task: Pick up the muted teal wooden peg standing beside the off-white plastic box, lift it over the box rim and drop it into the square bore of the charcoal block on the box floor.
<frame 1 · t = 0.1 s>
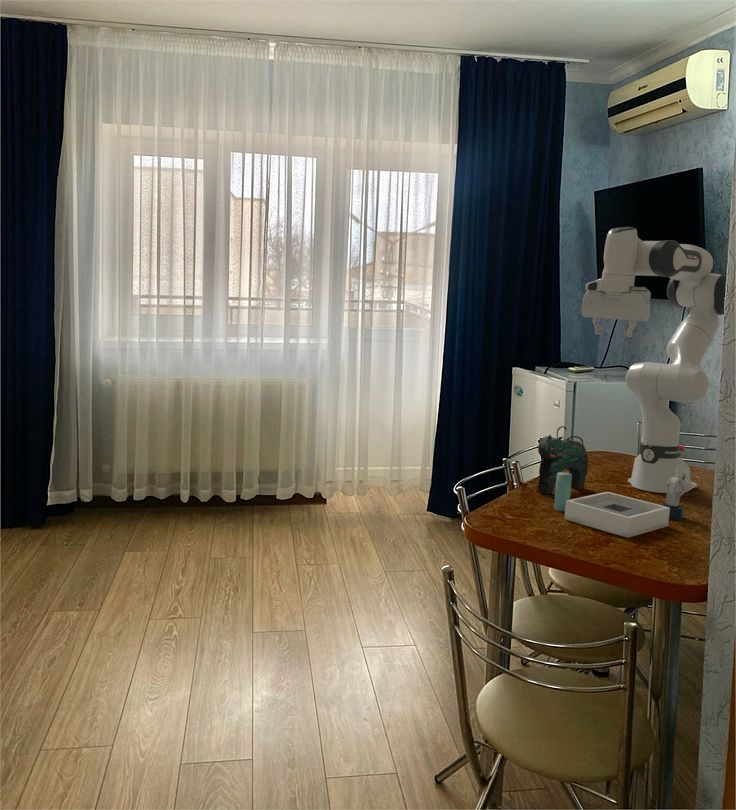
hand: (612, 335, 236), 48 cm above the table, fingers open, 8 cm apart
ceramic cat: (559, 491, 254), on the table
peg: (561, 509, 232), on the table
watch: (671, 517, 230), on the table
open box: (615, 522, 221), on the table
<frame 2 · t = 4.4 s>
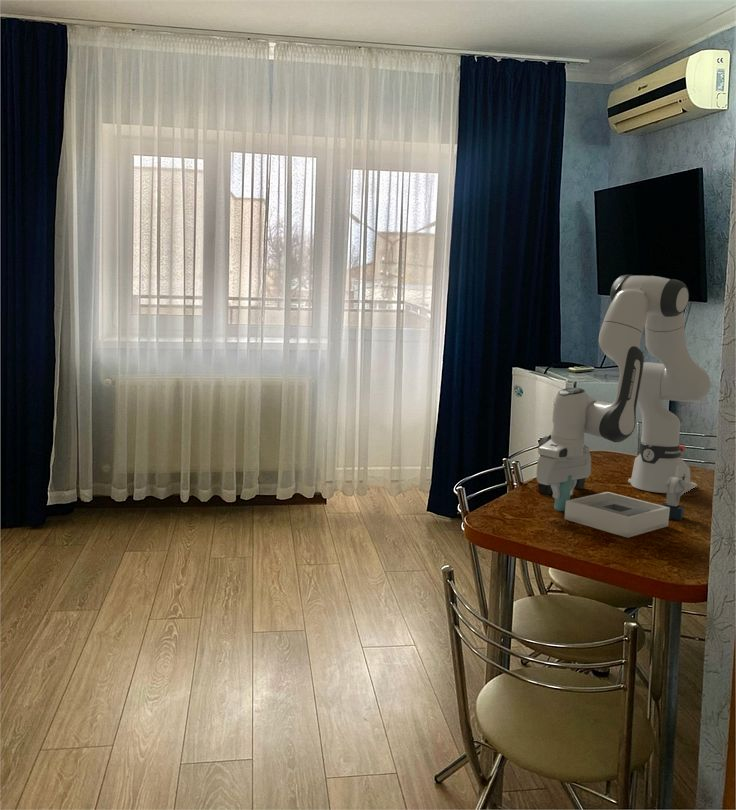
hand: (562, 496, 231), 4 cm above the table, fingers closed on peg, 4 cm apart
peg: (561, 509, 232), on the table, touching gripper
everything else where it was.
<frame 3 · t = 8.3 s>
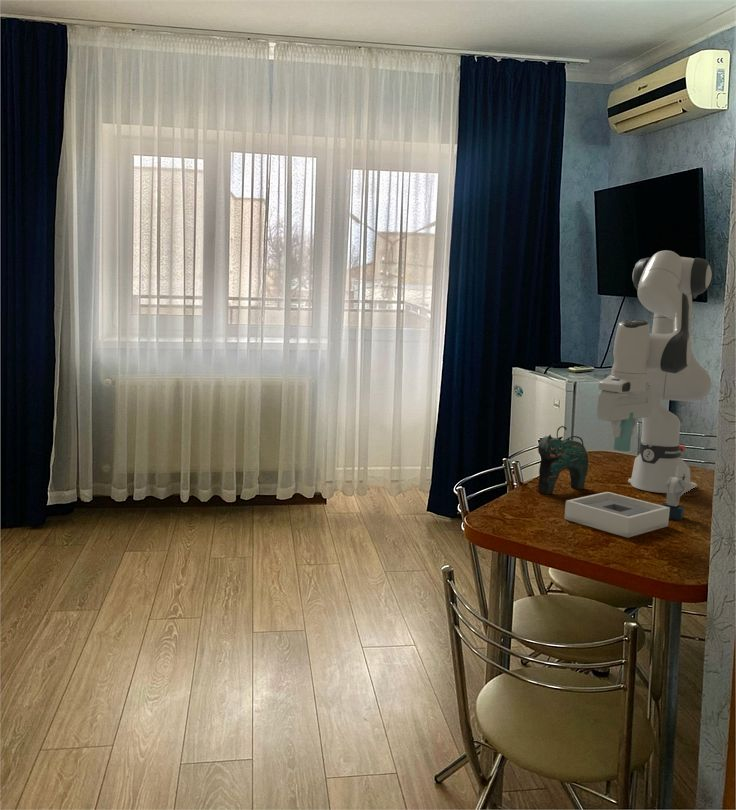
hand: (623, 436, 218), 23 cm above the table, fingers closed on peg, 4 cm apart
peg: (621, 449, 218), point 20 cm above the table, touching gripper
everything else where it was.
when the fingers open (6 cm above the table, at t = 12.1 s): peg stays where it is, resting on open box.
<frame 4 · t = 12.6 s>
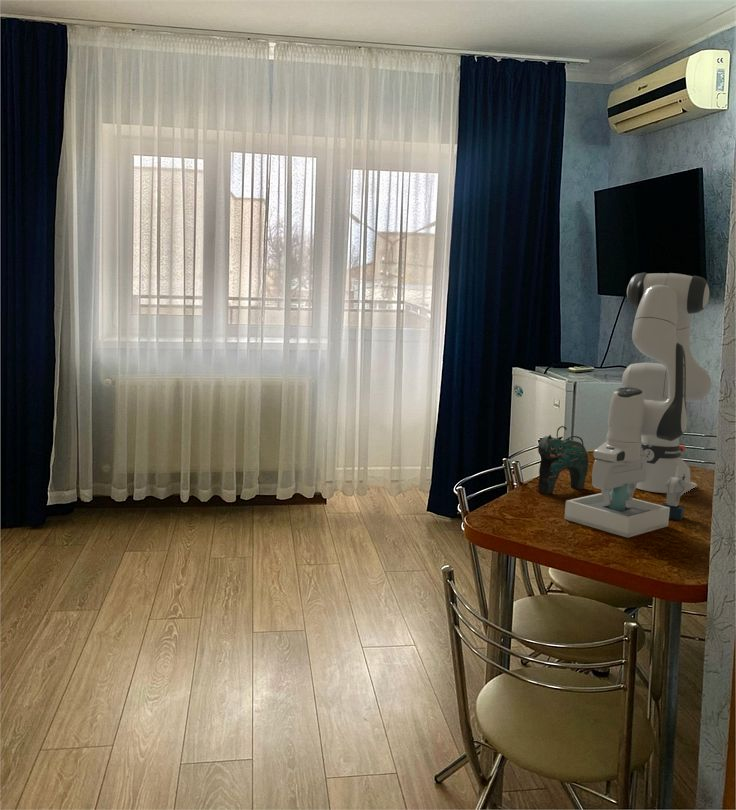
hand: (617, 501, 220), 6 cm above the table, fingers open, 8 cm apart
peg: (616, 518, 221), point 1 cm above the table, touching open box
everything else where it was.
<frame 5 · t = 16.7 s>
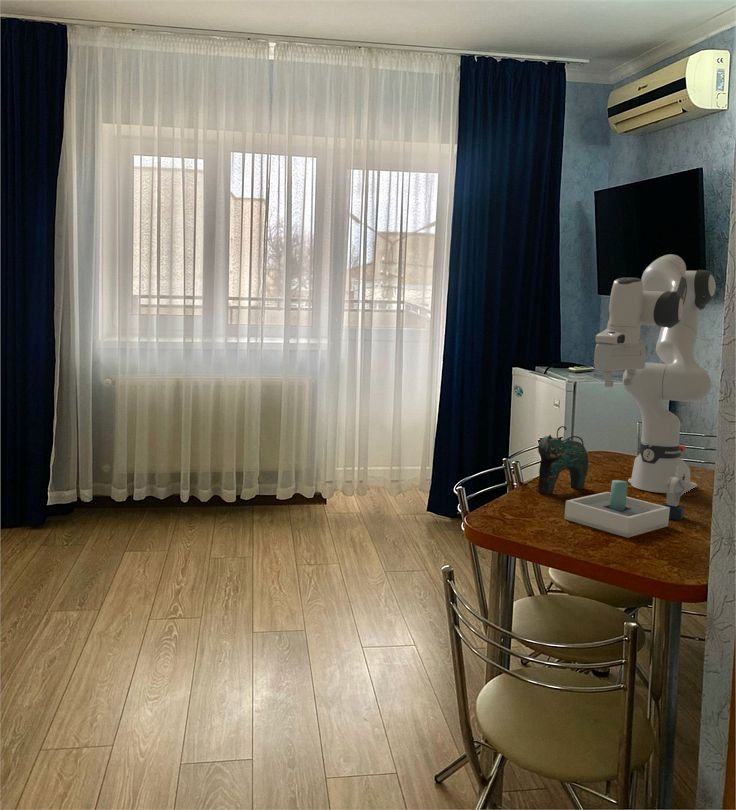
hand: (618, 386, 234), 34 cm above the table, fingers open, 8 cm apart
nothing on the table moved.
at the end: peg 0.0 cm off-centre on the open box, point 1.0 cm above the open box's base; peg tilted 0°; the gripper is holding nothing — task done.
